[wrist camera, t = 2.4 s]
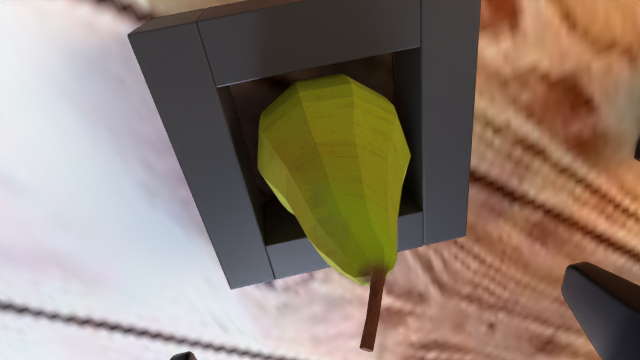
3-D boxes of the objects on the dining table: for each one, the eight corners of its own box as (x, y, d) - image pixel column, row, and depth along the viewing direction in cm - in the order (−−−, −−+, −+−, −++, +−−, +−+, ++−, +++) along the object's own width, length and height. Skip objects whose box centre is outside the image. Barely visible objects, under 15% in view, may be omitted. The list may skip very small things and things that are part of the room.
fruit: (409, 121, 19) (591, 318, 9) (321, 201, 21) (388, 444, 10) (320, 26, 16) (438, 155, 6) (226, 128, 18) (189, 368, 7)
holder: (440, -37, 15) (484, -35, 12) (437, 198, 22) (466, 236, 19) (151, 18, 15) (126, 34, 12) (233, 242, 21) (230, 290, 18)
